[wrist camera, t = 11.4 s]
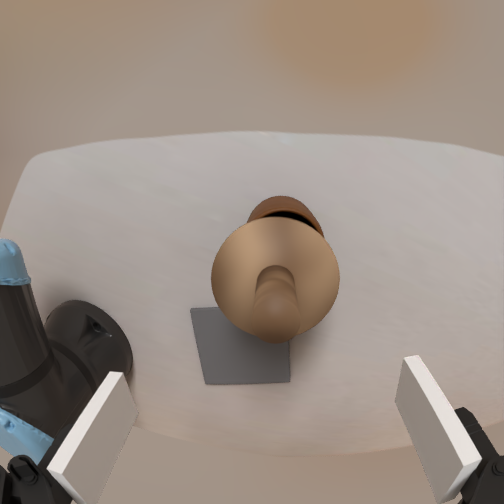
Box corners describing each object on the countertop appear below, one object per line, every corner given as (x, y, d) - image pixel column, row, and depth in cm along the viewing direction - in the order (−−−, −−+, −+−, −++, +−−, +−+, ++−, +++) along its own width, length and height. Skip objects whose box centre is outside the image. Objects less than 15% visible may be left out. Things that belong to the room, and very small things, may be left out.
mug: (297, 299, 38) (303, 339, 29) (235, 287, 38) (224, 324, 29) (320, 202, 35) (336, 216, 26) (254, 188, 35) (247, 197, 26)
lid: (220, 334, 30) (205, 387, 22) (206, 221, 27) (180, 245, 19) (336, 329, 29) (353, 381, 21) (336, 213, 26) (362, 234, 18)
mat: (206, 381, 43) (205, 383, 42) (191, 308, 40) (190, 310, 39) (290, 379, 42) (290, 381, 41) (286, 303, 39) (286, 305, 38)
